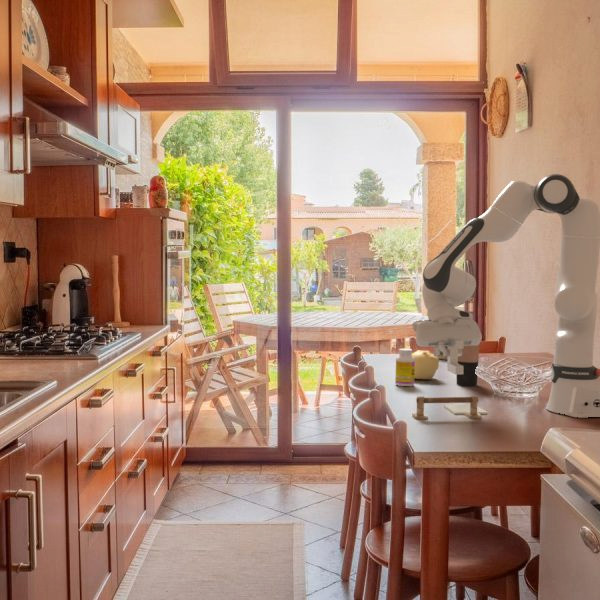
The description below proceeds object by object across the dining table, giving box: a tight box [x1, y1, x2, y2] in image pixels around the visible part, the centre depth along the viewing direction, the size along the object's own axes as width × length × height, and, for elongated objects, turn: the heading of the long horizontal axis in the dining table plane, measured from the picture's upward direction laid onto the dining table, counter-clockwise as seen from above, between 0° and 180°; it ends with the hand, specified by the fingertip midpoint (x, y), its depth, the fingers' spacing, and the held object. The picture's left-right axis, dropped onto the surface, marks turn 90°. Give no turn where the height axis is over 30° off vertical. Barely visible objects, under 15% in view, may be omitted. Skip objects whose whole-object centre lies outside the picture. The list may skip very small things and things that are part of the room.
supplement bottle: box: [394, 348, 415, 387], centre depth 258 cm, size 7×7×13 cm
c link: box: [446, 338, 464, 375], centre depth 218 cm, size 2×7×10 cm, turn 7°
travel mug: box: [456, 344, 480, 387], centre depth 260 cm, size 8×8×20 cm
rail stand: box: [411, 395, 483, 420], centre depth 211 cm, size 20×4×6 cm, turn 97°
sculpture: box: [412, 349, 440, 381], centre depth 271 cm, size 11×12×11 cm
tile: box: [443, 404, 488, 416], centre depth 220 cm, size 10×10×1 cm
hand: (453, 355), depth 220 cm, fingers closed on c link, 2 cm apart
